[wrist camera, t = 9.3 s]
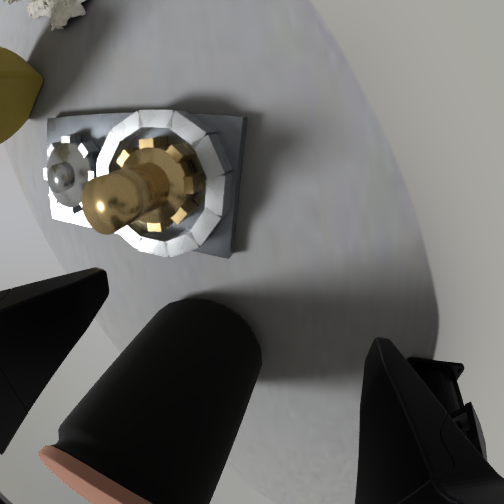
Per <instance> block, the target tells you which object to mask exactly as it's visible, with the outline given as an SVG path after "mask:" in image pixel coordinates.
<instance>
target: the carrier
mask: <svg viewBox="0 0 504 504" xmlns="http://www.w3.org/2000/svg"><path fill="white" fill-rule="evenodd" d="M246 123H247V117H239V116H228V115H214V114H197V113H188V112H186V111H183V110H139V111H136V112H134V113H106V114H89V115H77V116H66V117H57V118H49V119H48V120H47V150H48V148H49V147H50V145H51V143H55V142H60V141H61V136H64V135H69V134H81V141H83V142H88V141H94V143H95V144H96V146H97V147H98V149H99V151H98V153H97V154H96V157H97V161H98V162H97V177H98V176H101V175H104V174H107V173H111V172H114V171H118V170H121V168H122V167H121V166H120V165H119V164H118V163H117V162H116V161H117V159H118V158H119V156H120V155H121V153H122V152H123V150H124V149H129V148H135V147H139V140H140V139H147V138H155V137H165V136H167V145H168V146H171V145H172V144H178V143H185V144H186V145H187V146H188V147H189V148H190V149H191V150H192V151H193V152H194V153H195V154H194V155H193V156H192V157H191V159H190V162H191V163H192V165H193V168H194V171H195V172H204V188H203V189H201V190H199V191H198V192H196V193H195V194H194V196H193V199H192V201H193V202H194V203H195V204H196V205H197V206H198V207H197V208H196V210H195V211H194V212H193V213H192V214H191V215H190V216H189V217H188V218H187V219H185V220H184V221H182V222H181V223H179V224H178V225H177V224H176V223H175V222H174V221H173V222H174V223H173V224H172V225H171V226H169V227H168V228H166V229H165V230H163V231H162V232H155V231H148V227H147V222H144V221H141V220H137V221H135V222H133V223H131V224H129V225H127V226H125V227H124V228H122V229H120V230H119V231H117V232H115V233H116V234H120V235H121V236H122V237H123V238H124V239H125V240H126V241H128V242H129V243H130V244H131V245H132V246H133V247H134V248H136V249H138V248H139V251H142V252H146V253H151V254H155V255H159V256H163V257H167V258H168V257H170V258H171V257H173V256H176V255H179V254H182V253H185V252H188V251H196V252H200V253H205V254H209V255H214V256H219V257H223V258H228V259H229V258H230V257H231V256H232V254H233V250H234V239H235V229H236V218H237V208H238V198H239V188H240V179H241V169H242V160H243V150H244V141H245V132H246ZM47 155H48V154H47ZM48 159H49V155H48ZM49 191H50V193H51V190H50V187H49ZM50 202H51V212H52V219H56V220H61V221H65V222H69V223H73V224H78V225H82V226H86V227H90V228H92V227H91V225H90V224H89V223H88V221H87V220H86V218H85V216H84V213H83V210H82V211H80V212H78V213H76V214H73V215H72V214H67V213H65V207H64V206H63V205H61V204H60V203H57V204H54V203H53V201H52V200H51V198H50Z"/></svg>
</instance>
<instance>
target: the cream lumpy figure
mask: <svg viewBox="0 0 504 504" xmlns="http://www.w3.org/2000/svg"><path fill="white" fill-rule="evenodd" d="M3 1H4V2H5V0H3ZM10 1H11V2H10ZM14 1H16V2H17V1H19V0H9V1H7V2H8V3H9V4H11V3H13V2H14ZM20 1H21V0H20ZM84 1H85V0H31V1H30V3H29V2H28V5H29V6H28V5H27V6H26V9H27V10H28V12H29V11H30V12H29V13H28V14H29V17H32V18H34V19H36V18H37V17H39V16H41V17H42V16H43V15H46V16H47V17H49V18H50V20H51V21H52V23H51V26H52V28H51V31H53V30H54V29H55V28H56V29H64V28H62V26H65V25H66V24H67V21H68V19H69V18H70V17H76V16H79V15H85V14H86V12H85V9H83V8H84V7H83V6H82V4H81V3H82V2H84Z"/></svg>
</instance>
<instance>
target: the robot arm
mask: <svg viewBox="0 0 504 504" xmlns="http://www.w3.org/2000/svg"><path fill="white" fill-rule="evenodd" d="M108 295H109V285H108V278H107V273H106V271H105V270H103V269H100V268H97V267H94V268H90V269H86V270H82V271H78V272H74V273H70V274H66V275H62V276H58V277H54V278H50V279H46V280H42V281H38V282H34V283H30V284H26V285H22V286H19V287H15V288H12V289H7V290H3V291H0V454H1V455H2V454H3V453H4V452H5V450H6V448H7V446H8V445H9V443H10V441H11V440H12V438H13V436H14V435H15V433H16V431H17V430H18V428H19V427H20V425H21V423H22V422H23V420H24V419H25V417H26V415H27V414H28V412H29V410H30V409H31V407H32V406H33V404H34V403H35V401H36V400H37V398H38V397H39V395H40V394H41V392H42V391H43V389H44V388H45V386H46V385H47V383H48V382H49V381H50V379H51V377H52V376H53V375H54V373H55V372H56V371H57V369H58V368H59V366H60V365H61V364H62V362H63V361H64V359H65V358H66V357H67V355H68V354H69V352H70V351H71V350H72V348H73V347H74V346H75V344H76V343H77V342H78V340H79V339H80V338H81V336H82V335H83V334H84V332H85V331H86V330H87V328H88V327H89V325H90V323H91V322H92V321H93V319H94V317H95V316H96V314H97V313H98V311H99V309H100V308H101V306H102V305H103V303H104V302H105V300H106V299H107V297H108ZM410 363H411V364H410ZM463 370H464V366H463V364H462V363H453V362H444V361H436V360H428V359H421V358H409V359H407V360H406V359H405V358H404V357H403V355H402V354H401V353H400V352H399V350H398V349H397V348H396V347H395V345H394V344H393V343H392V342H391V341H390V340H389V339H388V338H382V337H376V338H375V339H374V341H373V343H372V346H371V348H370V350H369V352H368V354H367V357H366V360H365V366H364V376H363V385H362V394H361V402H360V432H359V457H358V473H357V486H356V497H355V504H504V478H502V477H501V476H500V475H499V474H497V472H496V471H495V470H494V469H493V468H492V467H491V465H489V463H488V462H487V454H486V444H485V439H484V436H483V432H482V429H481V425H480V422H479V419H478V417H477V415H476V412H475V410H474V408H473V405H472V403H471V402H469V403H467V404H465V406H464V404H463V400H462V396H461V393H460V390H459V386H458V383H457V379H458V378H459V376H460V375H461V373H462V372H463ZM0 504H12V503H11V502H10V501H9V500H8V499H7V498H6V497H5V496H4V495H3V494H2V493H1V492H0Z"/></svg>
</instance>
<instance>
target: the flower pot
mask: <svg viewBox="0 0 504 504" xmlns="http://www.w3.org/2000/svg"><path fill="white" fill-rule="evenodd" d="M42 83H43V77H42V76H41V75H40V74H39V73H38V72H37V71H36V70H35V69H33V68H32V67H31V66H30V65H29V64H28V62H26V61H25V60H24V59H23V58H21V57H20V56H19V55H17V54H16V53H14V52H12V51H10V50H8V49H5V48H2V47H0V143H2V142H4V141H5V140H7V139H8V138H10V137H11V136H12V135H13V134H15V133H16V132H17V131H18V130H19V129H20V128H21V127H22V126H23V124H24V123H25V122H26V121H27V120H28V118H29V116H30V113H31V110H32V108H33V105H34V103H35V100H36V98H37V95H38V93H39V91H40V88H41V86H42Z"/></svg>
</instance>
